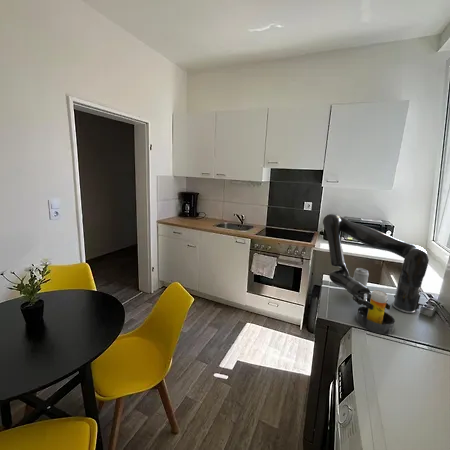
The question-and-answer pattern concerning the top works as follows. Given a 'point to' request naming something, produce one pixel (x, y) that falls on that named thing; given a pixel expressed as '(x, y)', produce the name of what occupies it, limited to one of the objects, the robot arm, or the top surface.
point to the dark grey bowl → (372, 326)
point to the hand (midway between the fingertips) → (381, 307)
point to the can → (361, 276)
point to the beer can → (377, 306)
